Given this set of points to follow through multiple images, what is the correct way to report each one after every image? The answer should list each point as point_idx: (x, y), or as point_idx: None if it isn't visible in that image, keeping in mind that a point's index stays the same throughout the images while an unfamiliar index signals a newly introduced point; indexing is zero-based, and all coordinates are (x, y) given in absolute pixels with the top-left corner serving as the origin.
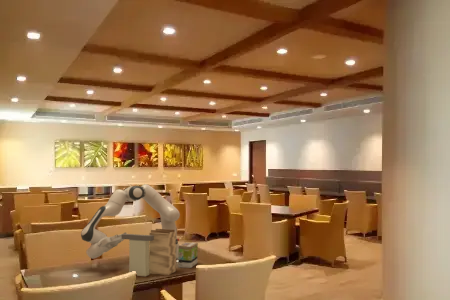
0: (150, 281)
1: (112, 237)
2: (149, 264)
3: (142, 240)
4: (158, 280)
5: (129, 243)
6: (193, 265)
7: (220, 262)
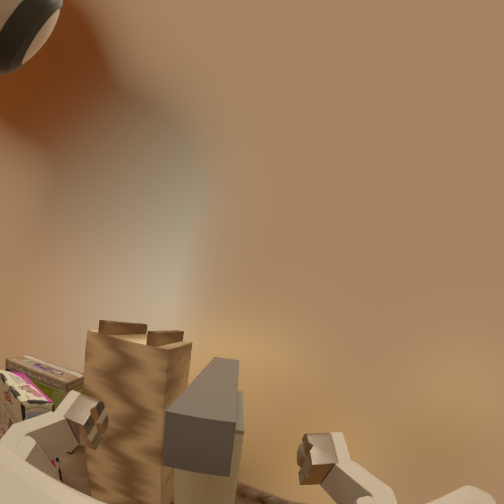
0: (280, 499)
1: (372, 486)
2: (161, 500)
3: (238, 396)
4: (257, 489)
5: (239, 458)
6: None
7: None
